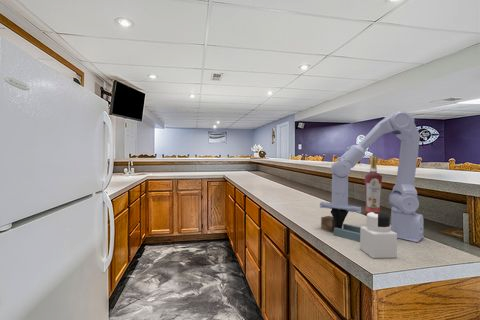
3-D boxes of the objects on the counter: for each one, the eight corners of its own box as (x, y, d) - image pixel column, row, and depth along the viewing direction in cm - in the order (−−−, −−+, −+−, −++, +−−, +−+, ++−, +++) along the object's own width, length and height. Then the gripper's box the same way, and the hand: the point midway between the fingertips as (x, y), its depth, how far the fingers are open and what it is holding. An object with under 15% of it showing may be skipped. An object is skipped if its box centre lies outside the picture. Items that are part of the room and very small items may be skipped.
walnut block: (339, 229, 96) (339, 218, 96) (331, 231, 94) (331, 220, 94) (328, 226, 101) (328, 215, 101) (321, 228, 98) (321, 217, 98)
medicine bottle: (381, 248, 78) (382, 210, 77) (397, 258, 71) (398, 216, 70) (359, 248, 78) (360, 210, 77) (372, 258, 70) (373, 216, 70)
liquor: (365, 216, 117) (366, 156, 116) (362, 212, 124) (363, 156, 123) (383, 217, 115) (384, 157, 114) (379, 213, 122) (380, 156, 121)
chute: (372, 236, 89) (372, 229, 89) (362, 242, 83) (362, 234, 83) (344, 230, 96) (344, 223, 96) (333, 234, 91) (333, 228, 91)
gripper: (363, 193, 91) (363, 230, 92) (325, 189, 101) (324, 223, 101) (358, 196, 86) (357, 235, 86) (317, 192, 95) (317, 227, 96)
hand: (339, 229), depth 93 cm, fingers closed
